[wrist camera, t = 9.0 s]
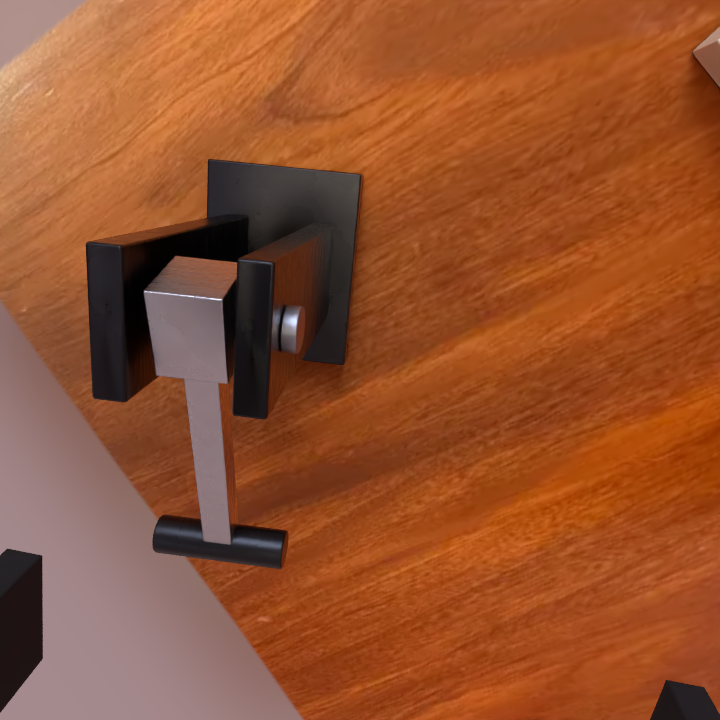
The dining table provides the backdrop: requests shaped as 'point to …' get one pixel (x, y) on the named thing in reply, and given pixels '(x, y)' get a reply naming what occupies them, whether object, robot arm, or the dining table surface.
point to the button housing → (710, 55)
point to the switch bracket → (238, 279)
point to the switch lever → (205, 409)
